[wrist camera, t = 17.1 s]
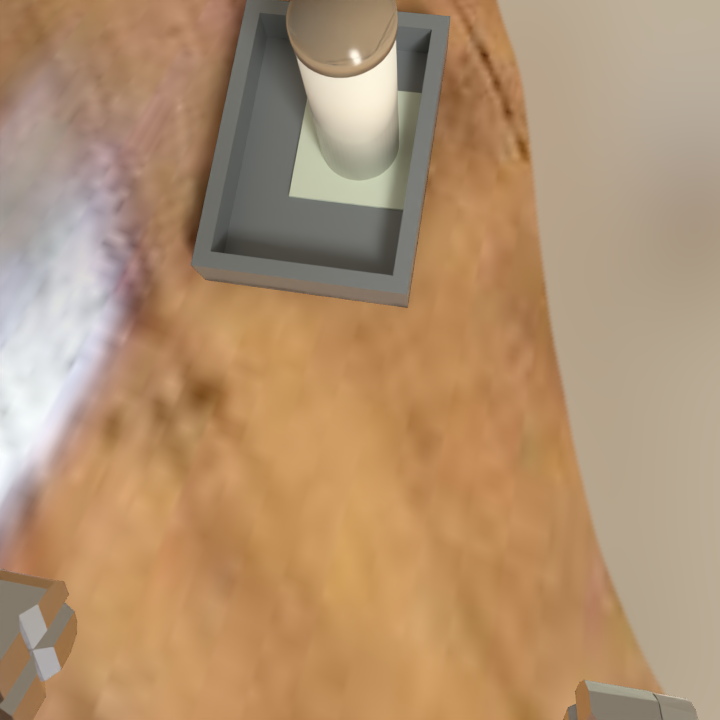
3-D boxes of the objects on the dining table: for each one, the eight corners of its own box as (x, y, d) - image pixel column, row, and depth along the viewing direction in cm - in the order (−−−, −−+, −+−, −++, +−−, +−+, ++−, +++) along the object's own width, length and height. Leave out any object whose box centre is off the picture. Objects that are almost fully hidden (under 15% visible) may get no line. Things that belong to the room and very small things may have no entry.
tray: (205, 280, 43) (190, 265, 40) (257, 28, 46) (247, -3, 43) (407, 307, 42) (407, 294, 39) (447, 47, 45) (450, 16, 42)
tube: (313, 176, 43) (277, 61, 31) (327, 102, 44) (296, -37, 32) (394, 186, 42) (388, 73, 31) (406, 111, 43) (405, -28, 32)
